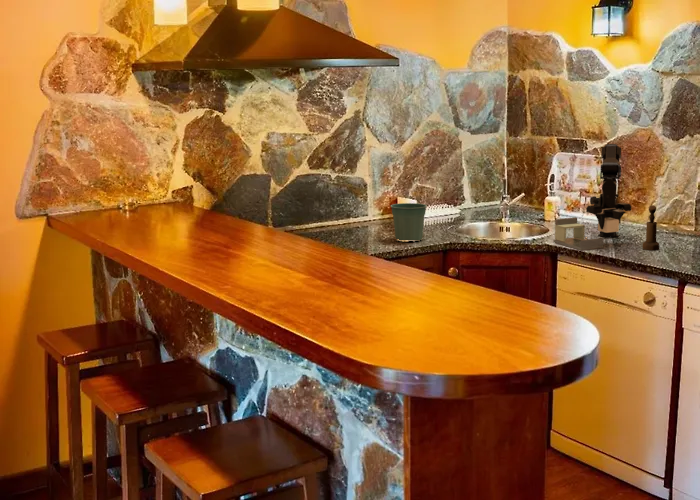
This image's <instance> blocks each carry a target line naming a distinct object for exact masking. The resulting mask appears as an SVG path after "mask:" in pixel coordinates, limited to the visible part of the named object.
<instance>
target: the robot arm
mask: <svg viewBox="0 0 700 500" xmlns="http://www.w3.org/2000/svg"><path fill="white" fill-rule="evenodd" d="M600 155H601V158H600V159H602V164H600V173H599V176H600V177H599V179H600V180H602V186H601V190H602V193H600V195H599V197H597V196H591V197H589V203H590V204H589V205H587V206H586V208H585V209H586V210H585V212H586V213H589V214H592V215H594V216H595V217H596V219H597V223H598V222H599V225H600V228H601V229H603V227H604V221H605V218H614V219H618V220H619V224H621V218H622V217H623V216H624V214H626V213H627V212H631V211H632V205H631V204H630V203H627V202H617V198H619V194H618V193H617V187H618V181H617V180H620V177H622V166H621V164H619V163H620V159H622V147H621V146H618V144H617V143H606V144H605V145H604V146H603V147H601V154H600ZM598 237H602V238H608V239H609V238H616V237H617V238H618V237H619V234H618V232H608V233H606V232H602V231H599V234H598Z"/></svg>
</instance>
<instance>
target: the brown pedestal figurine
mask: <svg viewBox="0 0 700 500" xmlns="http://www.w3.org/2000/svg"><path fill="white" fill-rule="evenodd" d="M648 211H649V216H648V218H649V221H646V232H645V233H646V235H645V240H644V241H643V242H642V250H646V251H659V250H660V243H659V242H658V240H657V230H658V229H657V228H658V227H657V225H658V222H657V221H655V219H656V216H655V214H656V211H657V206H656V205H649V206H648Z"/></svg>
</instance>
